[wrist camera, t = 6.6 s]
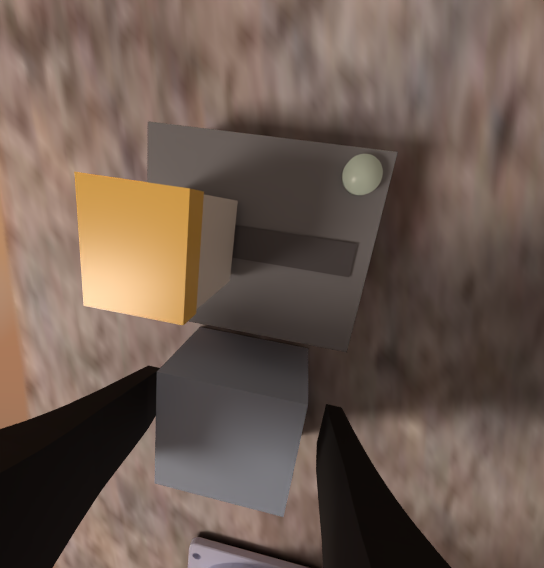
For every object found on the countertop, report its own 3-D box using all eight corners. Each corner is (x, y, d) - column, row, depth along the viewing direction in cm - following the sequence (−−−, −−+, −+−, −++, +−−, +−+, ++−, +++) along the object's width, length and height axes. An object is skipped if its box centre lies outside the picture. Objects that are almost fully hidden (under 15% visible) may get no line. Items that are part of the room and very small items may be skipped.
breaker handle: (231, 282, 8) (183, 325, 5) (167, 271, 8) (83, 305, 5) (239, 199, 7) (189, 188, 4) (169, 188, 8) (74, 171, 4)
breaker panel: (338, 321, 11) (348, 357, 8) (180, 292, 11) (141, 316, 9) (374, 168, 9) (401, 149, 6) (187, 144, 10) (141, 117, 7)
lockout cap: (289, 437, 13) (283, 517, 9) (193, 415, 13) (154, 483, 10) (308, 348, 11) (308, 405, 8) (200, 326, 12) (156, 371, 8)
